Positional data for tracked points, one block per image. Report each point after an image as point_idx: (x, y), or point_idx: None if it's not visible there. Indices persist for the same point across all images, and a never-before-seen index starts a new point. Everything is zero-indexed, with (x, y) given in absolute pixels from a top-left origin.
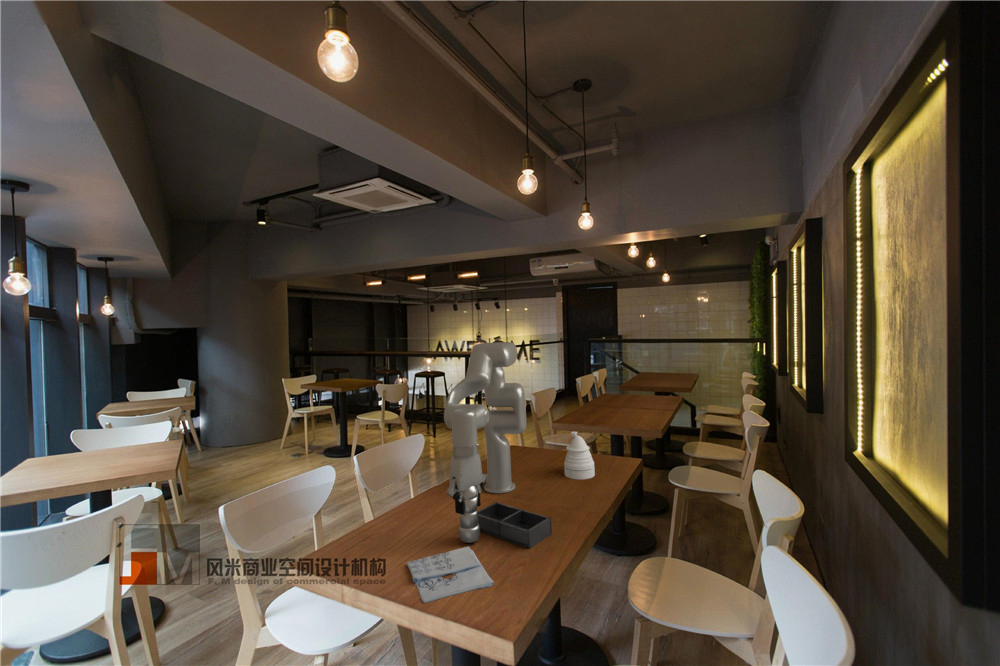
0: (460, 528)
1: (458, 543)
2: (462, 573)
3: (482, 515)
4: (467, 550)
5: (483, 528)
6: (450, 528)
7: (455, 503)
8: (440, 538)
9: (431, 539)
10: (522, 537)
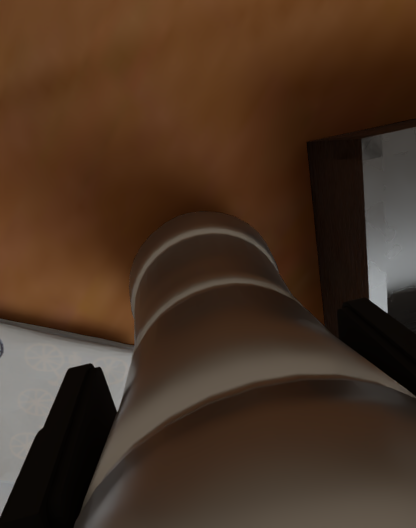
0: (132, 299)
1: (133, 239)
2: (7, 486)
3: (382, 229)
4: (108, 382)
5: (326, 233)
6: (203, 2)
7: (2, 523)
8: (70, 96)
9: (7, 59)
10: None
